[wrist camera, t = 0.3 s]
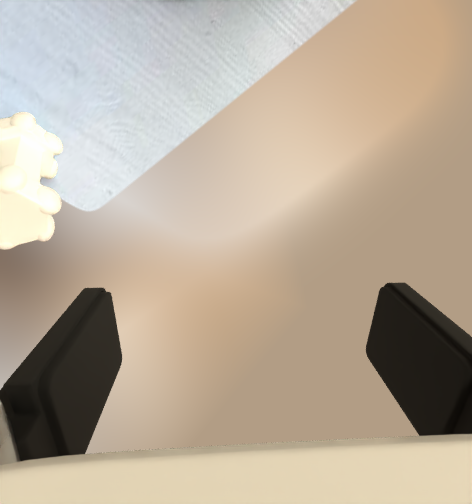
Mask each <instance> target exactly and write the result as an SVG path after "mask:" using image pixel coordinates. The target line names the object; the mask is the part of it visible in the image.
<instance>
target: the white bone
mask: <svg viewBox="0 0 472 504" xmlns="http://www.w3.org/2000/svg"><path fill="white" fill-rule="evenodd" d="M62 150H63V145H62V142H61V140H60V139H59V138H58V137H57V136H56V135H54V134H52V133H48V132H47V131H45V130H44V129H43V128H41V127H40V126H39V125H37V124H36V120H35V118H34V116H33V115H31V114H30V113H27V112H19V113H16V114H14V115H13V116H12V117H8V118H2V119H0V249H11V248H13V247H15V246H17V245H19V244H23V243H27V242H31V241H34V240H39V241H47V240H49V239H50V238H51V237H52V235H53V233H54V229H55V223H54V219H53V218H52V216H51V215H54V214H56V213H57V212H58V211H59V210H60V208H61V204H62V203H61V199H60V196H59V195H58V193H57V192H56V191H54V190H53V189H51V188H49V187H45V186H43V185H41V184H40V179H41V177H45V178H47V179H52V178H54V177H55V176H56V174H57V170H58V166H57V162H56V160H55V159H54V158H53V156H54V155H59V154H60V153H61V152H62Z"/></svg>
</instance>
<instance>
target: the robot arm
mask: <svg viewBox="0 0 472 504" xmlns="http://www.w3.org/2000/svg"><path fill="white" fill-rule="evenodd" d="M366 353H367V357H368V358H369V360H370V362H371V363H372V365H373V366H374V368H375V369H376V371H377V372H378V374H379V375H380V377H381V378H382V380H383V381H384V383H385V384H386V386H387V387H388V389H389V390H390V392H391V393H392V395H393V396H394V398H395V399H396V401H397V402H398V404H399V405H400V407H401V408H402V410H403V411H404V413H405V414H406V416H407V418H408V419H409V421H410V422H411V423H412V425H413V427H414V428H415V430H416V431H417V433H418V434H419V436H408V437H385V438H362V439H342V440H320V441H300V442H281V443H262V444H242V445H224V446H206V447H189V448H170V449H154V450H153V449H152V450H135V451H122V452H107V453H96V454H85V452H86V450H87V447H88V445H89V442H90V440H91V438H92V435H93V432H94V430H95V428H96V425H97V423H98V420H99V418H100V415H101V413H102V411H103V408H104V406H105V403H106V401H107V398H108V396H109V393H110V391H111V388H112V386H113V384H114V381H115V379H116V376H117V374H118V371H119V369H120V366H121V362H122V353H121V348H120V341H119V335H118V330H117V324H116V318H115V313H114V307H113V302H112V296H111V293H110V292H106V291H105V289H104V288H85V289H83V290H82V292H81V293H80V294H79V295H78V296H77V298H76V299H75V300H74V301H73V302H72V304H71V305H70V306H69V307H68V308H67V310H66V311H65V312H64V313H63V314H62V316H61V317H60V318H59V319H58V321H57V322H56V323H55V324H54V325H53V326H52V328H51V329H50V330H49V331H48V332H47V334H46V335H45V336H44V337H43V339H42V340H41V341H40V342H39V343H38V344H37V346H36V347H35V348H34V349H33V350H32V352H31V353H30V354H29V355H28V356H27V358H26V359H25V360H24V361H23V362H22V363H21V365H20V366H19V367H18V368H17V369H16V371H15V372H14V373H13V374H12V375H11V377H10V378H9V379H8V380H7V382H6V383H5V384H4V386H3V388H2V389H1V390H0V504H472V337H471V336H470V335H469V334H467V333H466V332H465V331H464V330H463V329H461V328H460V327H459V326H458V325H456V324H455V323H454V322H453V321H452V320H450V319H449V318H448V317H447V316H445V315H444V314H443V313H442V312H440V311H439V310H438V309H437V308H436V307H434V306H433V305H432V304H431V303H429V302H428V301H427V300H426V299H424V298H423V297H422V296H421V295H420V294H418V293H417V292H416V291H415V290H413V289H412V288H411V287H410V286H408V285H407V284H406V283H387V284H386V285H385V286H384V287H382V288H381V289H380V291H379V295H378V300H377V303H376V307H375V312H374V316H373V320H372V325H371V329H370V332H369V337H368V341H367V345H366Z"/></svg>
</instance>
